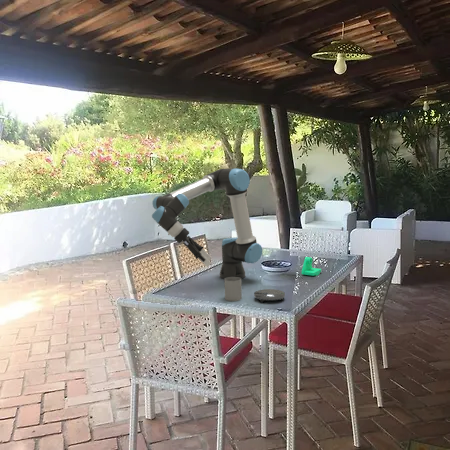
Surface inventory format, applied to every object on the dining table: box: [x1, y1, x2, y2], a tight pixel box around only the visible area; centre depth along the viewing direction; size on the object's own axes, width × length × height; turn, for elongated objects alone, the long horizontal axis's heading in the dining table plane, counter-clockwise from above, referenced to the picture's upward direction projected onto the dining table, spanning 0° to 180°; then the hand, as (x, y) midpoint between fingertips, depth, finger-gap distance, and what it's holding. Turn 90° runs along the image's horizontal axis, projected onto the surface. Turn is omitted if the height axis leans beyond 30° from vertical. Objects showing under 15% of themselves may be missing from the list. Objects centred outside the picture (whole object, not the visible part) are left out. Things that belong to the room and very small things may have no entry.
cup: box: [224, 277, 243, 302], centre depth 245 cm, size 8×8×10 cm
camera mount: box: [301, 256, 322, 277], centre depth 292 cm, size 12×8×10 cm, turn 146°
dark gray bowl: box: [253, 288, 286, 303], centre depth 243 cm, size 15×15×3 cm
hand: (209, 262), depth 243 cm, fingers open, 13 cm apart
